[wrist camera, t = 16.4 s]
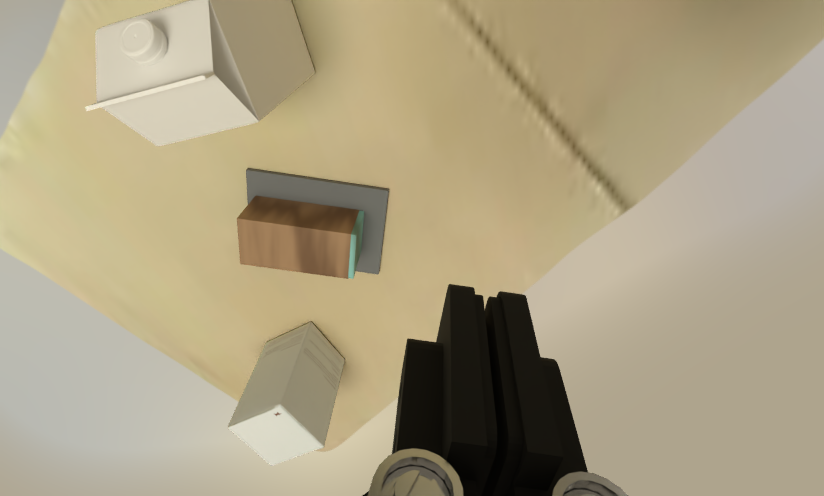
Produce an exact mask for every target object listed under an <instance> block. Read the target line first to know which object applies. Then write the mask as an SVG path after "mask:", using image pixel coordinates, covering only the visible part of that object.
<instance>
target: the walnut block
mask: <svg viewBox="0 0 824 496" xmlns="http://www.w3.org/2000/svg"><path fill="white" fill-rule="evenodd" d="M363 221H364V211H359V210H357V209H349V208H342V207H335V206H328V205H320V204H313V203H306V202H299V201H292V200H284V199H277V198H270V197H263V196H255V197H254V198H253V199H252V201H251V202H250V203H249V204H248V206H247V207H246V208H245V209H244V210H243V212H242V213H241V214H240V215H239V217H238V218H237V226H238V239H239V252H240V264H245V265H252V266H259V267H267V268H274V269H281V270H289V271H296V272H303V273H310V274H318V275H325V276H332V277H340V278H347V279H348V278H352V279H353V278H354V274H355V271H356V268H357V264H358V261H359V257H360V254H361V246H362V233H363Z"/></svg>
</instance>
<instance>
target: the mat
mask: <svg viewBox="0 0 824 496" xmlns="http://www.w3.org/2000/svg"><path fill="white" fill-rule="evenodd" d="M246 178H247V197H248V204H249V203H250V202H251V201H252V199H253V198H254V197H255V196H263V197H270V198H277V199H284V200H292V201H299V202H306V203H313V204H320V205H328V206H335V207H342V208H349V209H357V210H359V211H364V221H363V233H362V246H361V254H360V257H359V261H358V264H357V268H356V271H358V272H365V273H372V274H379V269H380V261H381V252H382V244H383V235H384V227H385V218H386V209H387V201H388V192H389V189H386V188H380V187H373V186H366V185H359V184H352V183H346V182H339V181H332V180H325V179H319V178H312V177H305V176H298V175H291V174H285V173H278V172H271V171H264V170H257V169H251V168H248V169H247V170H246Z"/></svg>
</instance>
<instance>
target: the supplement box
mask: <svg viewBox="0 0 824 496" xmlns="http://www.w3.org/2000/svg"><path fill="white" fill-rule="evenodd" d="M344 362H345V359H344V358H343V357H342V356H341V355H340V354H339V353H338V351H337V350H336V349H335V348H334V347H333V346H332V345H331V344H330V343H329V341H328V340H327V339H326V338H325V337H324V336H323V335H322V333H321V332H320V331H319V330H318V329H317V328H316V327H315V326H314V324H313V323H312V322H310V323H307V324H305V325H303V326H301V327H298V328H296V329H294V330H292V331H290V332H287V333H285V334H283V335H281V336H279V337H277V338H275V339H272V340H270V341H268V342H267V343H266V344H265V346H264V348H263V350H262V353H261V355H260V357H259V359H258V361H257V364H256V366H255V368H254V370H253V372H252V375H251V377H250V379H249V381H248V383H247V385H246V388H245V390H244V392H243V394H242V396H241V399H240V401H239V403H238V406H237V407H236V410H235V412H234V414H233V417H232V419H231V421H230V423H229V425H228V429H229V430H230V431H231V432H233V433H234V434H235V435H236V436H237V437H239V438H240V439H241V440H242V441H243V442H244V443H245V444H247V445H248V446H249V447H250V448H251V449H252V450H253V451H255V452H256V453H257V454H258V455H259V456H260V457H262V458H263V459H264V460H265V461H266V462H267V463H268V464H269V465H271V466H273V465H276V464H279V463H281V462H284V461H287V460H290V459H293V458H295V457H298V456H300V455H303V454H306V453H309V452H312V451H315V450H318V449H321V448H324V445H325V440H326V436H327V432H328V428H329V424H330V419H331V415H332V411H333V407H334V403H335V399H336V395H337V391H338V387H339V382H340V378H341V374H342V370H343V366H344Z"/></svg>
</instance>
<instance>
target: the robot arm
mask: <svg viewBox="0 0 824 496" xmlns="http://www.w3.org/2000/svg"><path fill="white" fill-rule="evenodd" d="M363 496H628V495H627V494H626V493H625V492H624V491H623V490H622V489H621V488H620V487H618V486H617V485H615V484H614V483H612V482H611V481H609V480H608V479H606V478H604V477H601V476H599V475H596V474H594V473H588V471H587V467H586V464H585V460H584V456H583V453H582V449H581V445H580V442H579V438H578V434H577V431H576V427H575V424H574V420H573V416H572V413H571V410H570V405H569V402H568V398H567V394H566V391H565V387H564V384H563V380H562V377H561V373H560V369H559V366H558V364H557V362H556V361H555V360H554V359H548V358H541V357H540V354H539V349H538V346H537V341H536V337H535V332H534V328H533V324H532V320H531V316H530V311H529V307H528V303H527V298H526V296H525V295H522V294H515V293H508V292H501V291H500V292H499V293H498V295H497V297H489V298H488V301H487V304H486V308H485V310H484V301H483V296H482V295H476V294H475V291H474V288H473V287H466V286H459V285H452V284H449V286H448V289H447V293H446V298H445V303H444V308H443V312H442V317H441V322H440V327H439V332H438V336H437V341H436V342H429V341H422V340H415V339H407V344H406V350H405V356H404V362H403V368H402V375H401V382H400V389H399V397H398V406H397V415H396V424H395V433H394V442H393V451H392V455H389V456H388V457H387V458H386V459H385V460H384V461H383V462H382V463H381V464H380V465H379V467H378V469H377V471H376V473H375V474H374V476H373V480H372V483H371V486H370V490H369V491H368V492H367V493H366V494H365V495H363Z"/></svg>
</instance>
